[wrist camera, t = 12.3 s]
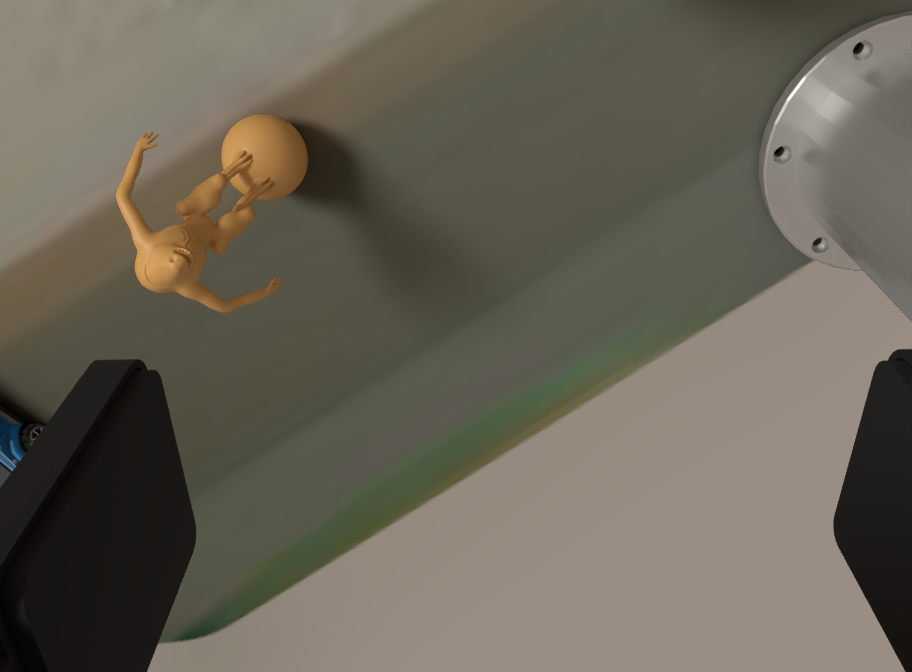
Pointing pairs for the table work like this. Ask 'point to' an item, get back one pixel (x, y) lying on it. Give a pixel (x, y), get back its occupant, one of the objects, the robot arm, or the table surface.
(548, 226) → the table surface
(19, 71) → the table surface
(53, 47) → the table surface
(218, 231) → the figurine
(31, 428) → the toy car
